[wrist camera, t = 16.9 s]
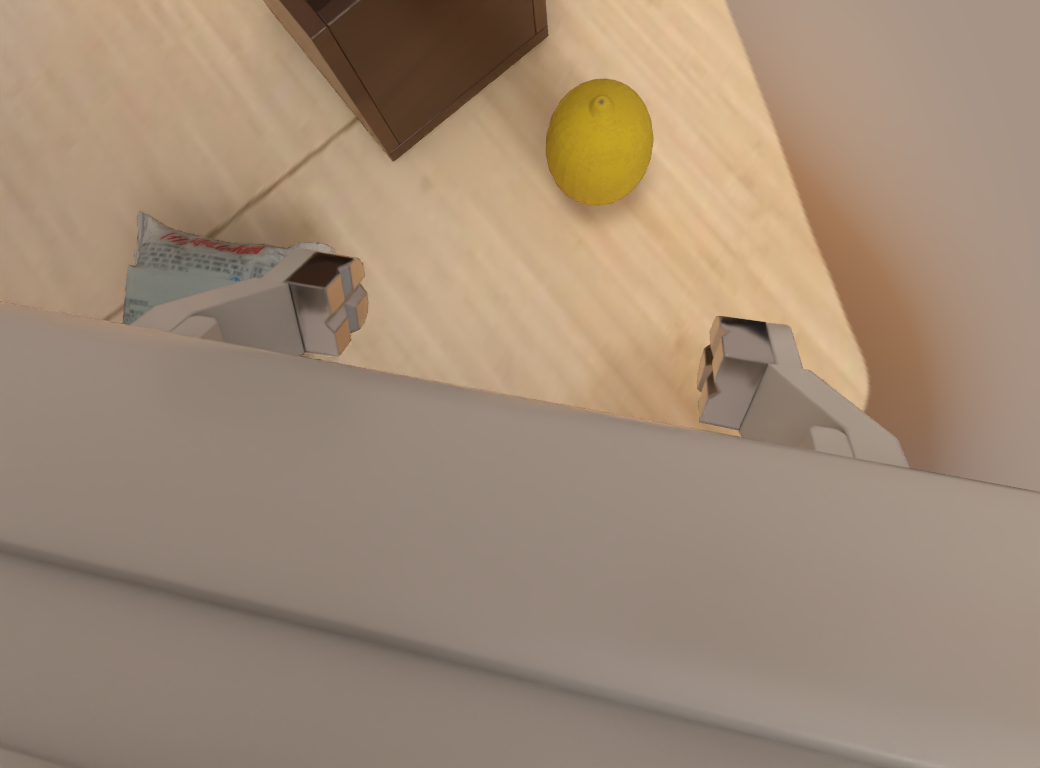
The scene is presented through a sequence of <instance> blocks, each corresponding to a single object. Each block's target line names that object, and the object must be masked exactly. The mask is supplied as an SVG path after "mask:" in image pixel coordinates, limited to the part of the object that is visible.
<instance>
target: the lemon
mask: <svg viewBox="0 0 1040 768" xmlns="http://www.w3.org/2000/svg"><path fill="white" fill-rule="evenodd" d="M652 147H653V131H652V123H651V118H650V115H649V113H648V111H647V108H646V106H645V104H644V102H643V101H642V99H641V98H640V97H639V95H638V94H637V93H636V92H635V91H634V90H632V89H631V88H630V87H629V86H627V85H625V84H623V83H621V82H618V81H616V80H610V79H595V80H591V81H588V82H585V83H582V84H580V85H579V86H577V87H575V88H574V89H572V90H571V91H570V92H569V93H568V94H567V95H566V96H565V97H564V98H563V99H562V100H561V101H560V103H559V105H558V106H557V108H556V110H555V111H554V113H553V115H552V118H551V121H550V125H549V128H548V132H547V137H546V157H547V161H548V165H549V170H550V172H551V174H552V176H553V178H554V180H555V182H556V184H557V185H558V186H559V188H560V189H561V190H562V191H563V192H564V193H565V194H566V195H567V196H569V197H570V198H572V199H574V200H575V201H577V202H580V203H584V204H587V205H598V206H599V205H605V204H610V203H613V202H615V201H617V200H619V199H622V198H623V197H624V196H626V195H627V194H628V193H629V192H631V191H632V190H633V189H634V188H635V187H636V185H637V184H638V183H639V181H640V180H641V179H642V178H643V176H644V174H645V171H646V169H647V167H648V165H649V162H650V159H651V153H652Z"/></svg>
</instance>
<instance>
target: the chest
mask: <svg viewBox="0 0 1040 768" xmlns="http://www.w3.org/2000/svg"><path fill="white" fill-rule="evenodd" d="M263 1H264V2H265V3H266V5H267V6H268V7H269V9H270V10H271V11H272V13H273V14H274V15H275V16H276V18H277V19H278V20H279V21H280V22H281V24H282V25H283V26H284V27H285V29H286V30H287V31H288V32H289V34H290V35H291V36H292V37H293V39H294V40H295V41H296V42H297V44H298V45H299V46H300V47H301V48H302V50H303V51H304V52H305V53H306V55H307V56H308V57H309V58H310V60H311V61H312V62H313V63H314V65H315V66H316V67H317V68H318V69H319V71H320V72H321V73H322V74H323V76H324V77H325V78H326V79H327V81H328V82H329V83H330V84H331V86H332V87H333V88H334V89H335V90H336V92H337V93H338V94H339V95H340V97H341V98H342V99H343V100H344V102H345V103H346V104H347V105H348V107H349V108H350V109H351V110H352V112H353V113H354V114H355V115H356V116H357V118H358V119H359V120H360V121H361V123H362V124H363V125H364V126H365V128H366V129H367V130H368V131H369V133H370V134H371V135H372V136H373V137H374V139H375V140H376V141H377V142H378V144H379V145H380V146H381V147H382V149H383V150H384V151H385V152H386V154H387V155H388V156H389V157H390V159H391V160H392V161H395V160H396V159H397V158H398V157H400V156H401V155H402V154H403V153H404V152H406V151H407V150H408V149H409V148H411V147H412V146H413V145H414V144H416V143H417V142H418V141H419V140H420V139H422V138H423V137H424V136H425V135H427V134H428V133H429V132H430V131H432V130H433V129H434V128H435V127H436V126H438V125H439V124H440V123H441V122H443V121H444V120H445V119H446V118H447V117H449V116H450V115H451V114H452V113H454V112H455V111H456V110H457V109H459V108H460V107H461V106H462V105H463V104H465V103H466V102H467V101H468V100H470V99H471V98H472V97H473V96H475V95H476V94H477V93H478V92H479V91H481V90H482V89H483V88H484V87H486V86H487V85H488V84H489V83H490V82H492V81H493V80H494V79H495V78H497V77H498V76H499V75H500V74H502V73H503V72H504V71H505V70H506V69H508V68H509V67H510V66H511V65H513V64H514V63H515V62H516V61H518V60H519V59H520V58H521V57H522V56H524V55H525V54H526V53H527V52H529V51H530V50H531V49H532V48H533V47H535V46H536V45H537V44H538V43H540V42H541V41H542V40H543V39H545V38H546V37H547V36H548V26H547V12H546V0H263Z"/></svg>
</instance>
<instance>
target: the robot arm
mask: <svg viewBox="0 0 1040 768" xmlns="http://www.w3.org/2000/svg"><path fill="white" fill-rule="evenodd" d="M364 277H365V273H364V267H363V263H362V262H361V260H360V259H359V258H355V257H349V256H344V255H338V254H333V253H327V252H321V251H317V250H310V249H303V248H295V249H294V250H293V251H292V252H291V253H289V254H288V255H287V256H286V257H285V258H284V259H283V260H281V261H280V262H279V263H278V264H277V265H276V266H274V267H273V268H272V269H271V270H270V271H269V272H268V273H266V274H265V275H264V276H263V277H262V278H255V277H254V278H251V279H247V280H244V281H240V282H237V283H233V284H230V285H226V286H223V287H219V288H216V289H213V290H209V291H206V292H202V293H199V294H195V295H192V296H188V297H185V298H181V299H178V300H174V301H171V302H167V303H164V304H160V305H157V306H154V307H153V308H151V309H150V310H149V311H147V312H146V313H145V314H143V315H142V316H141V317H139V318H138V319H137V320H135V321H134V322H133V323H131V324H130V325H127V324H121V323H116V322H110V321H105V320H100V319H94V318H89V317H83V316H78V315H72V314H67V313H61V312H56V311H51V310H45V309H40V308H34V307H29V306H23V305H18V304H13V303H7V302H2V301H0V768H1040V492H1037V491H1031V490H1026V489H1021V488H1015V487H1010V486H1005V485H999V484H994V483H988V482H983V481H977V480H972V479H967V478H961V477H955V476H950V475H945V474H939V473H934V472H928V471H922V470H917V469H912V468H910V467H909V465H908V463H907V460H906V458H905V455H904V453H903V451H902V448H901V446H900V444H899V442H898V439H897V438H896V437H895V436H893V435H892V434H891V433H889V432H888V431H887V430H886V429H884V428H883V427H882V426H880V425H879V424H878V423H877V422H875V421H874V420H873V419H872V418H870V417H869V416H868V415H867V414H865V413H864V412H863V411H861V410H860V409H859V408H858V407H856V406H855V405H854V404H853V403H851V402H850V401H849V400H847V399H846V398H845V397H844V396H842V395H841V394H840V393H839V392H837V391H836V390H835V389H833V388H832V387H831V386H830V385H828V384H827V383H826V382H824V381H823V380H822V379H821V378H819V377H818V376H817V375H816V374H814V373H813V372H812V371H810V370H805V369H803V367H802V363H801V360H800V357H799V353H798V350H797V347H796V343H795V340H794V337H793V333H792V330H791V327H790V326H788V325H784V324H775V323H767V322H760V321H753V320H746V319H738V318H731V317H723V316H716V317H715V319H714V321H713V324H712V327H711V329H710V345H708V346H707V347H706V348H704V350H703V353H702V357H701V360H700V364H699V369H698V376H697V389H698V390H699V391H700V392H701V395H700V398H699V401H698V409H699V422H701V423H706V424H711V425H715V426H720V427H725V428H730V429H735V430H739V433H740V434H741V436H742V437H738V436H732V435H727V434H721V433H716V432H710V431H705V430H700V429H694V428H689V427H683V426H678V425H672V424H667V423H661V422H656V421H650V420H645V419H639V418H634V417H629V416H623V415H618V414H612V413H607V412H601V411H596V410H590V409H585V408H579V407H574V406H568V405H563V404H558V403H552V402H547V401H541V400H536V399H530V398H525V397H519V396H514V395H508V394H503V393H498V392H492V391H487V390H481V389H476V388H470V387H465V386H459V385H454V384H448V383H443V382H438V381H432V380H427V379H421V378H416V377H410V376H405V375H399V374H394V373H388V372H383V371H378V370H372V369H367V368H361V367H356V366H350V365H345V364H339V363H334V362H328V361H323V360H318V359H312V358H307V357H301V356H300V355H302V354H303V353H304V351H306V352H312V353H319V354H325V355H332V356H338V357H339V356H340V354H341V353H342V352H343V350H344V349H345V348H346V346H347V345H348V344H349V343H350V341H351V335H350V333H352V332H355V331H357V330H359V329H360V328H361V327H362V325H363V324H364V322H365V319H366V316H367V313H368V294H367V292H366V290H365V289H364V288H363V286H362V285H361V284H360V282H361V281H362V280H363V278H364Z"/></svg>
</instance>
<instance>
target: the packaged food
mask: <svg viewBox="0 0 1040 768" xmlns="http://www.w3.org/2000/svg"><path fill="white" fill-rule="evenodd" d="M137 223H138V237H137V239H138V250H137V252H136V251H135V255H134V256H135V264H136V266H131V265H129V267H128V273H127V280H126V288H125V292H126V295H125V302H124V315H123V324H127V325H130V324H131V323H133V322H134V321H135V320H137V319H138V318H139V317H141V316H142V315H143V314H145V313H146V312H147V311H149V310H150V309H151V308H153V307H154V306H157V305H160V304H164V303H167V302H171V301H174V300H178V299H181V298H185V297H188V296H192V295H195V294H199V293H202V292H206V291H209V290H213V289H216V288H219V287H223V286H226V285H230V284H233V283H237V282H240V281H244V280H247V279H251V278H254V277H255V278H262V277H263V276H264V275H265V274H266V273H268V272H269V271H270V270H271V269H272V268H273V267H274V266H276V265H277V264H278V263H279V262H280V261H281V260H283V259H284V258H285V257H286V256H287V255H288V254H289V253H291V252H292V251H293V250H294V249H295V248H303V249H310V250H317V251H321V252H327V253H333V254H334V253H335V250H334V248H332V247H330V246H328V245H326V244H322V243H298V244H296V245H294V246H292V247H288V248H284V247H274V246H271V245H265V244H245V243H244V244H238V243H229V242H223V241H221V242H220V241H219V240H214V239H210V238H209V237H205V236H198V235H195V234H191V233H186V232H183V231H178V230H174V229H172V228H170V227H167V226H166V225H164V224H162V223H161V222H159V221H158V220H156V219H154V218H153V217H151V216H150V215H148V214H145V213H143V212H139V213H138V215H137Z"/></svg>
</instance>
